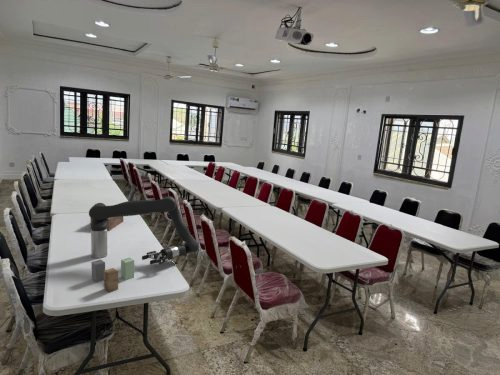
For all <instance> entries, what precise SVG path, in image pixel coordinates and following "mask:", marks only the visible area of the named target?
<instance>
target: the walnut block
mask: <svg viewBox="0 0 500 375" xmlns="http://www.w3.org/2000/svg"><path fill="white" fill-rule="evenodd" d="M103 289H104V290H105V291H106V292H107V293H111V292H114V291H118V290H119V270H117V269H116V268H115V267H112V268H111V267H110V268H108V269H105V270H104V280H103Z"/></svg>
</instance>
